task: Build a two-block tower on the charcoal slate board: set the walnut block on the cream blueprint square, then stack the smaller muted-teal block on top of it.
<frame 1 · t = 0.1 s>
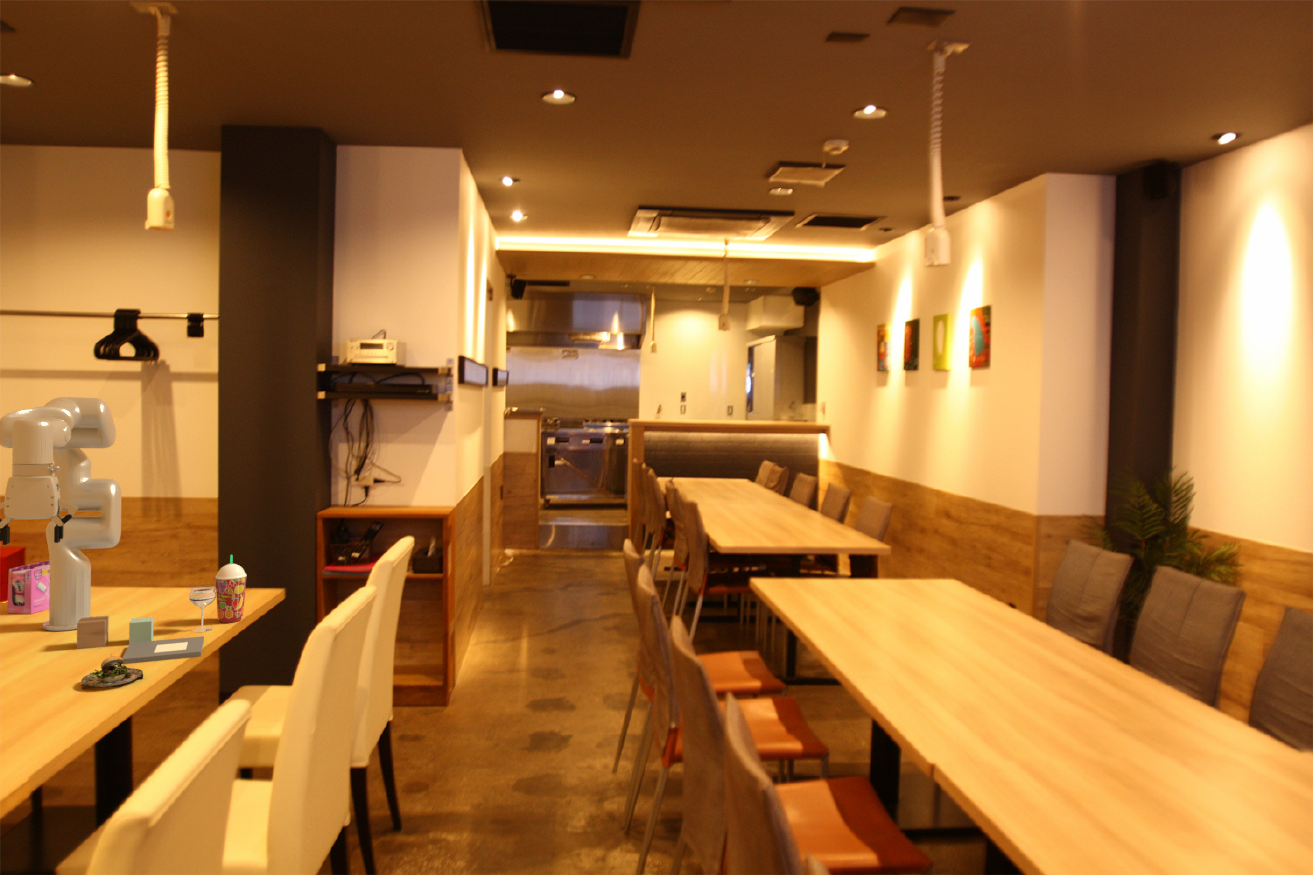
hand: (32, 543, 184), 31 cm above the table, fingers open, 9 cm apart
wineglass: (202, 630, 224), on the table
teal block: (141, 641, 212), on the table
burger: (112, 684, 181), on the table
smoothie: (230, 621, 235), on the table
walnut block: (92, 645, 208), on the table
slate board: (164, 651, 204), on the table
gum box: (49, 605, 246), on the table
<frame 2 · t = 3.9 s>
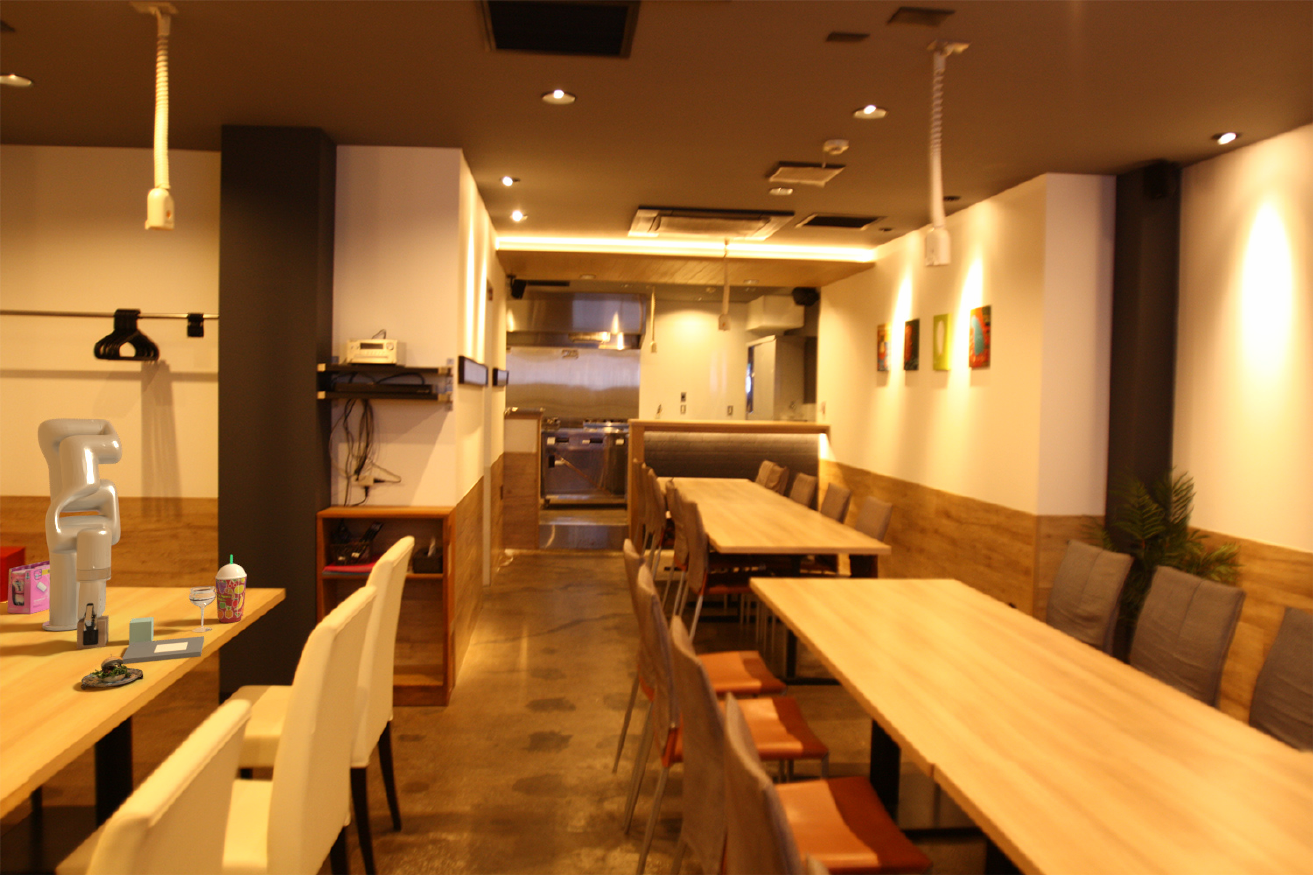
hand: (93, 640, 207), 1 cm above the table, fingers closed on walnut block, 6 cm apart
walnut block: (92, 644, 208), on the table, touching gripper
everything else where it was.
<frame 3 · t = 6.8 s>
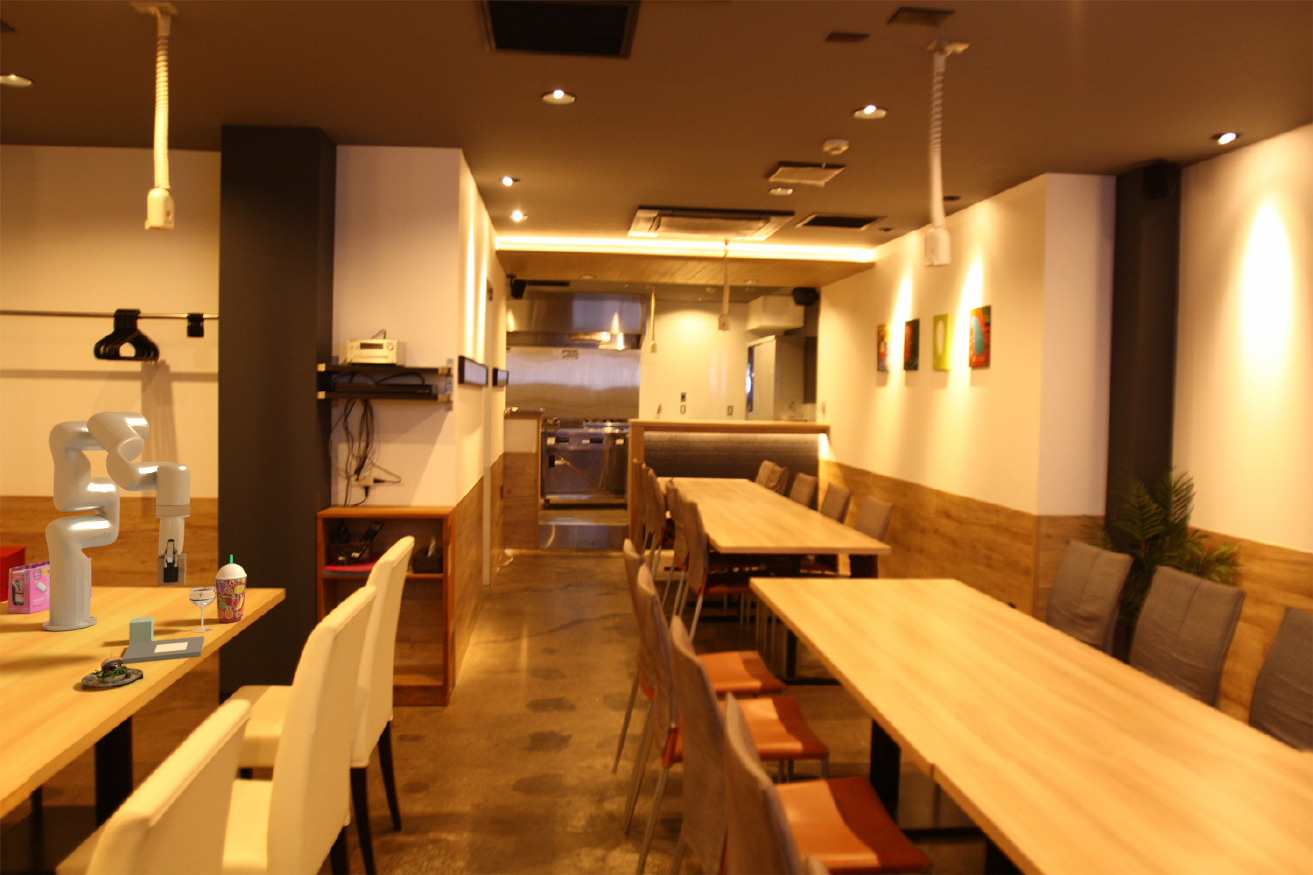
hand: (172, 578, 203), 19 cm above the table, fingers closed on walnut block, 6 cm apart
walnut block: (171, 583, 203), point 18 cm above the table, touching gripper
everything else where it was.
when the fingers open (3 cm above the table, at t = 10.2 s): walnut block stays where it is, resting on slate board.
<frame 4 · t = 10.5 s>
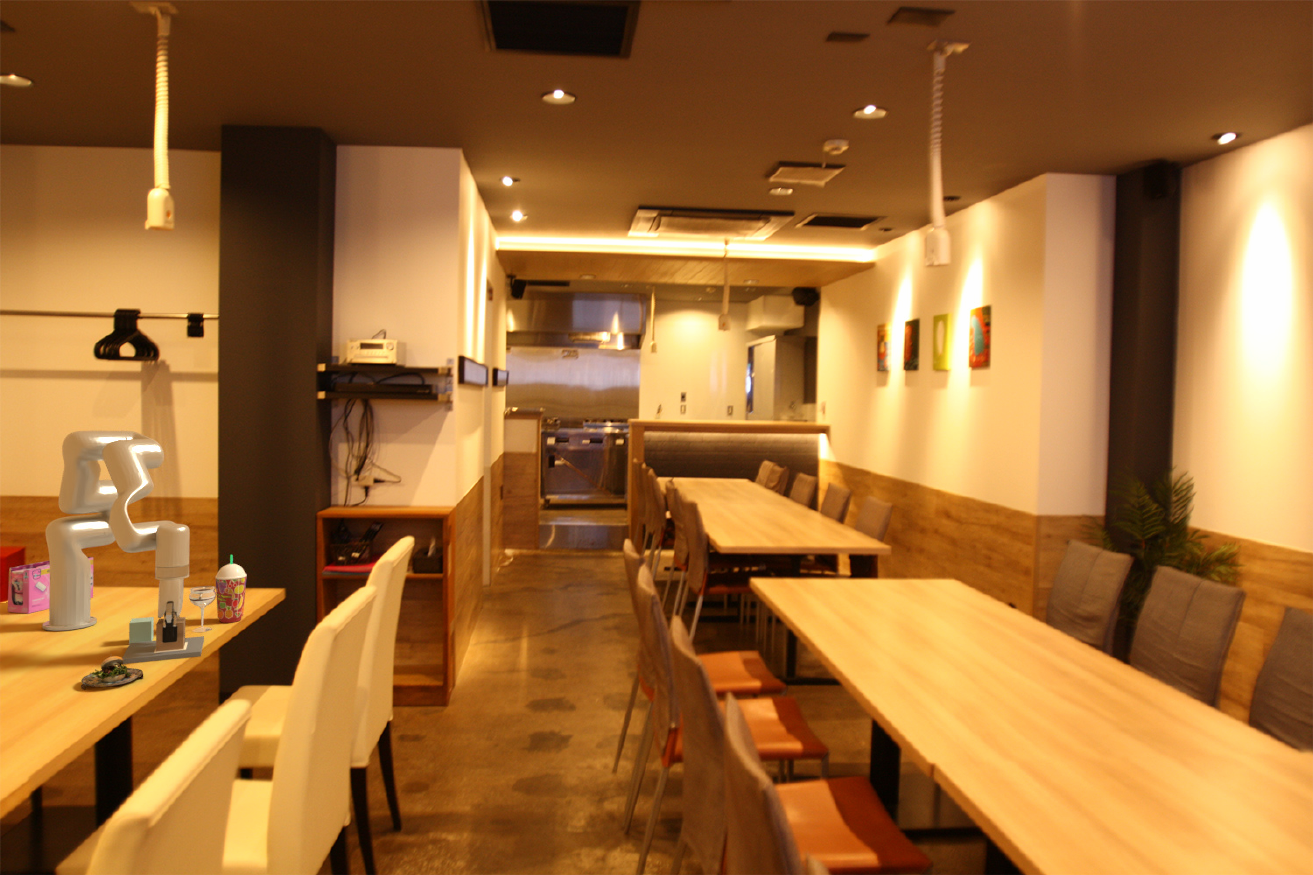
hand: (171, 636, 203), 4 cm above the table, fingers open, 9 cm apart
walnut block: (170, 647, 203), point 1 cm above the table, touching slate board
everything else where it was.
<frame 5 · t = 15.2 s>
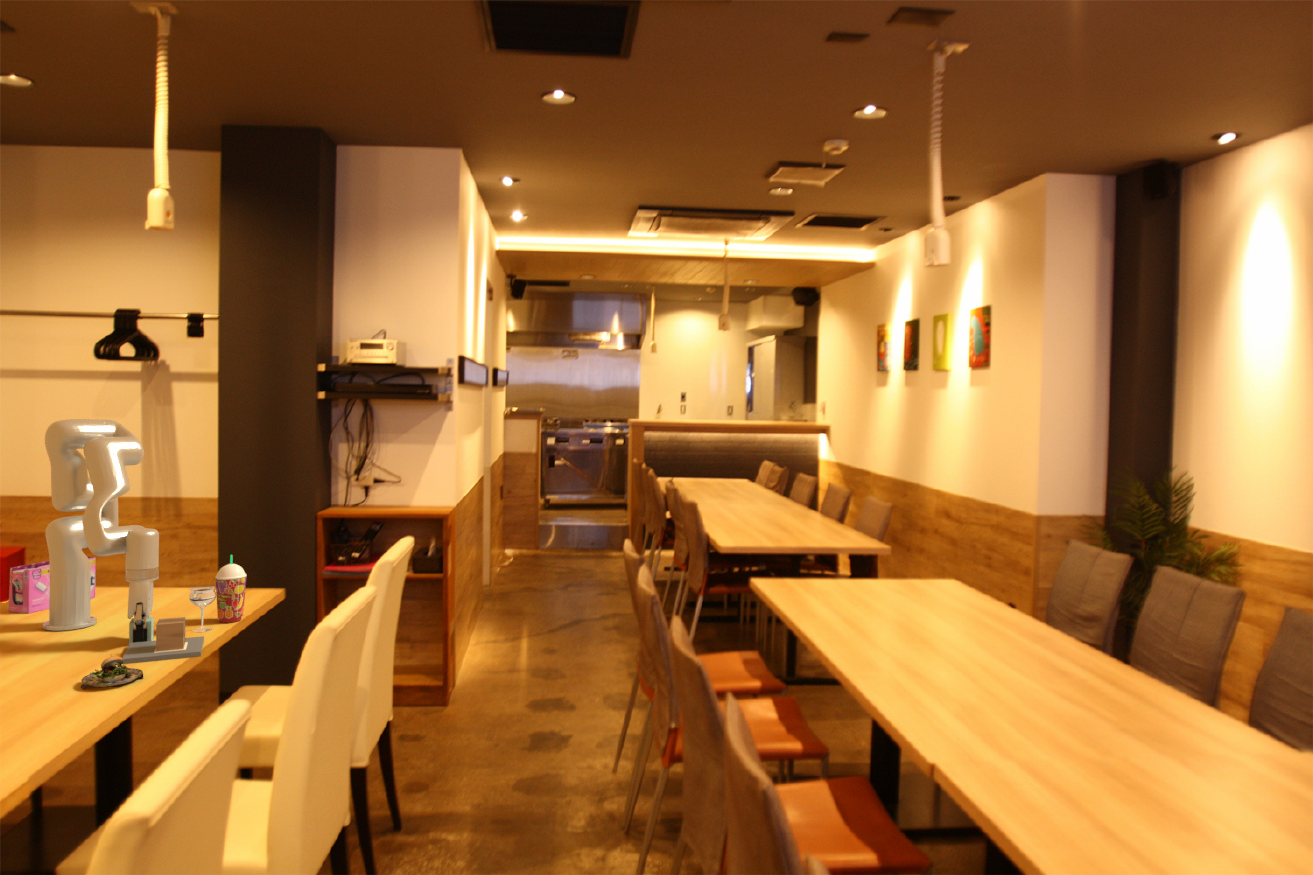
hand: (141, 639, 212), 0 cm above the table, fingers closed on teal block, 5 cm apart
teal block: (141, 641, 212), on the table, touching gripper
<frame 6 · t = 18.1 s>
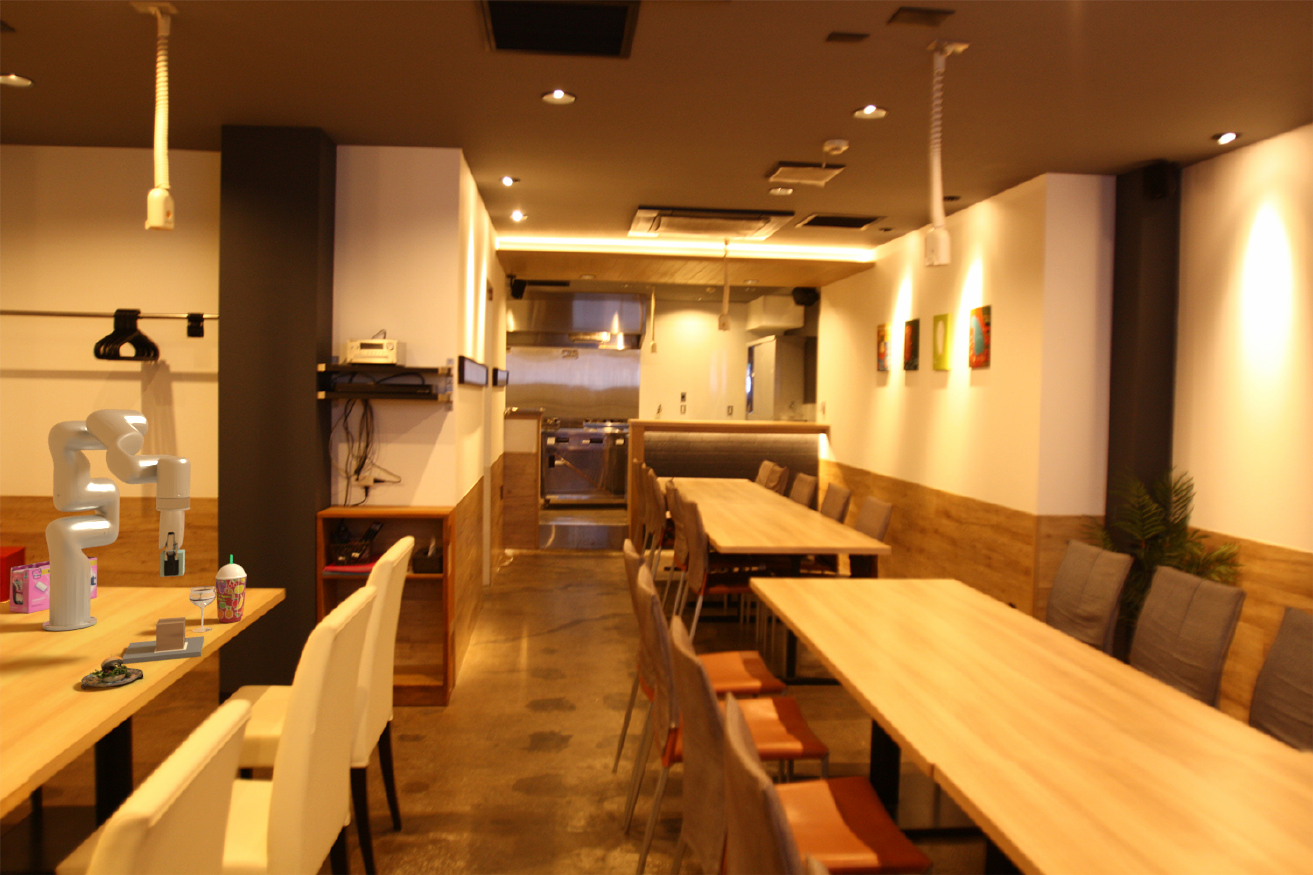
hand: (172, 572, 203), 21 cm above the table, fingers closed on teal block, 5 cm apart
teal block: (172, 574, 203), point 21 cm above the table, touching gripper
when the fingers open (10 cm above the table, at t = 21.0 s): teal block stays where it is, resting on walnut block.
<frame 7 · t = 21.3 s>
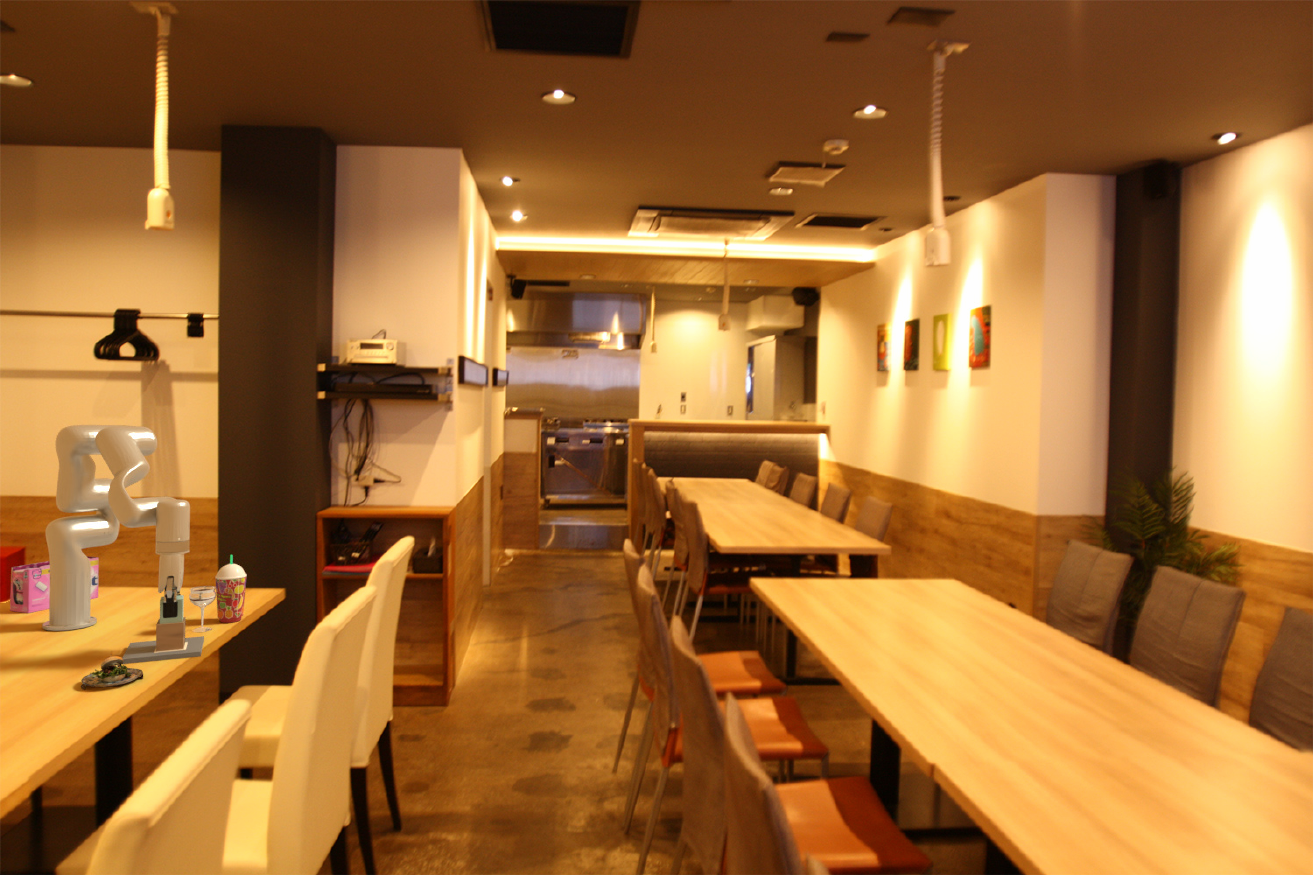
hand: (171, 613, 203), 10 cm above the table, fingers open, 8 cm apart
teal block: (171, 620, 203), point 8 cm above the table, touching walnut block
walnut block: (170, 647, 203), point 1 cm above the table, touching slate board, teal block
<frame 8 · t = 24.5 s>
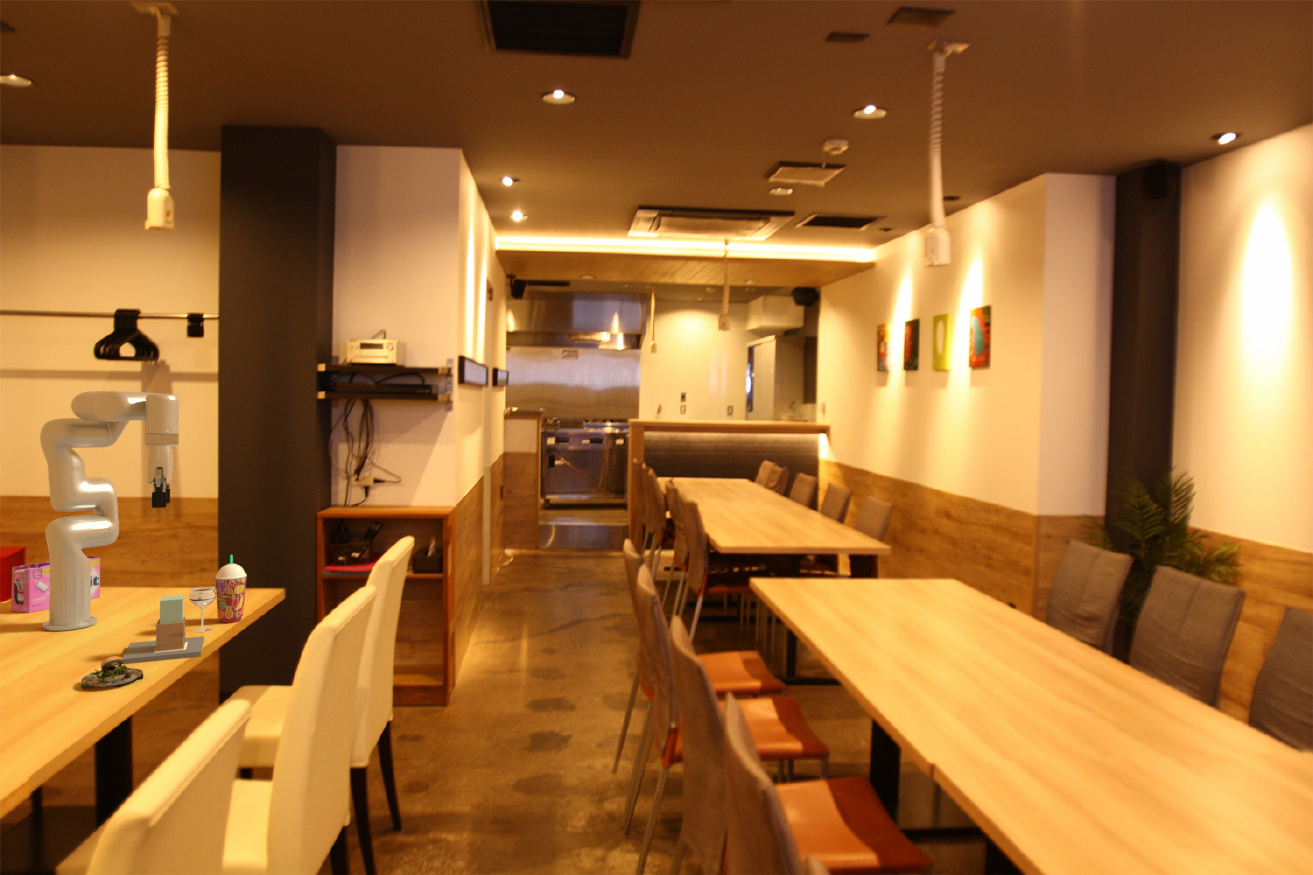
hand: (161, 505, 204), 38 cm above the table, fingers open, 9 cm apart
at the end: walnut block 0.1 cm from the target spot on the slate board, point 1.3 cm above the slate board's base; teal block 0.1 cm off-centre on the walnut block, point 7.0 cm above the walnut block's base; teal block tilted 0° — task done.
